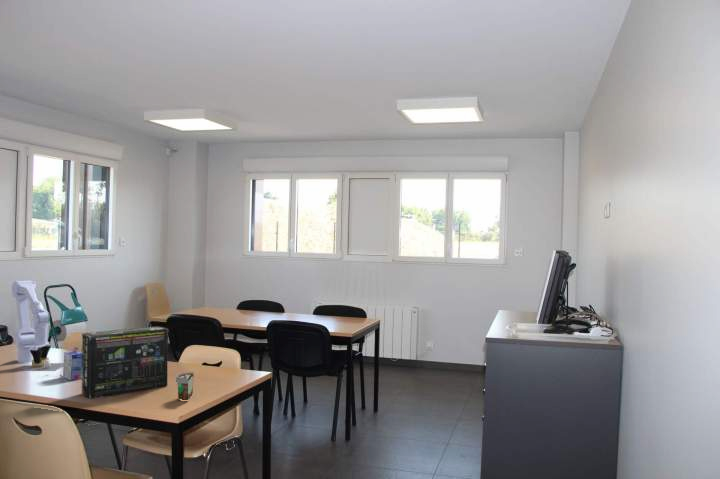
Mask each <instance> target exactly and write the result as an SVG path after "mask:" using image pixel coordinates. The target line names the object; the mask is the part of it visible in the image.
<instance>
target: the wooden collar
mask: <svg viewBox="0 0 720 479" xmlns="http://www.w3.org/2000/svg"><path fill="white" fill-rule="evenodd" d="M45 360H50V358H49V357H47V358H40V363H39V364H35V363H34V359H33V360H32V362H31V366H32V367H45Z"/></svg>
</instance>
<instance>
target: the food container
mask: <svg viewBox="0 0 720 479" xmlns="http://www.w3.org/2000/svg"><path fill="white" fill-rule="evenodd" d="M194 375H195V373H194V372H193V371H191V372H183V373H179V374H177V376H176V377H175V382H176V383H177V398H179V399H182V400H188V399H189V398H190V397H191V396H192V394H193V395H194V379H195V378H194V377H195V376H194ZM192 397H193V396H192ZM192 397H191V398H192Z"/></svg>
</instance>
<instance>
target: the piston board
mask: <svg viewBox="0 0 720 479" xmlns="http://www.w3.org/2000/svg"><path fill="white" fill-rule="evenodd" d="M63 364H64V362H61V363H60V362H59V363H58V362H55V363H53V362H51V359H49V360H45V367H32V365H30V366H28V367H26V368H24V369H21V372H55V371H57V370H60V369H63Z"/></svg>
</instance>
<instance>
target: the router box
mask: <svg viewBox="0 0 720 479" xmlns="http://www.w3.org/2000/svg"><path fill="white" fill-rule="evenodd" d="M168 334H169V328H167V327H163V326H157V325H156V326H146V327H135V328H134V327H133V328H125V329H124V328H123V329H114V330H113V329H112V330H104V331H103V330H102V331H93V332H92V331H91V332H84V333H83V332H82V334H81V336H82V341H81V342H82V344H81V346H82V348H81V353H82V379H81V394H82V396H83V397H85V398H88V399H90V398H91V399H95V398H94V397H97V398H101V396H103V397H109V396H114V394H116V395H121V394H125V393H126V392H127V393H133V392H139V391H144V390H150V388H151V389H157V388H161V387H162V386H163V387H167V386H168V360H169V359H168V352H169V351H168V344H169V343H168V341H169V340H168V337H169V335H168ZM156 387H157V388H156ZM163 387H162V388H163ZM132 391H133V392H132ZM120 393H121V394H120ZM127 393H126V394H127ZM108 395H109V396H108Z"/></svg>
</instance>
